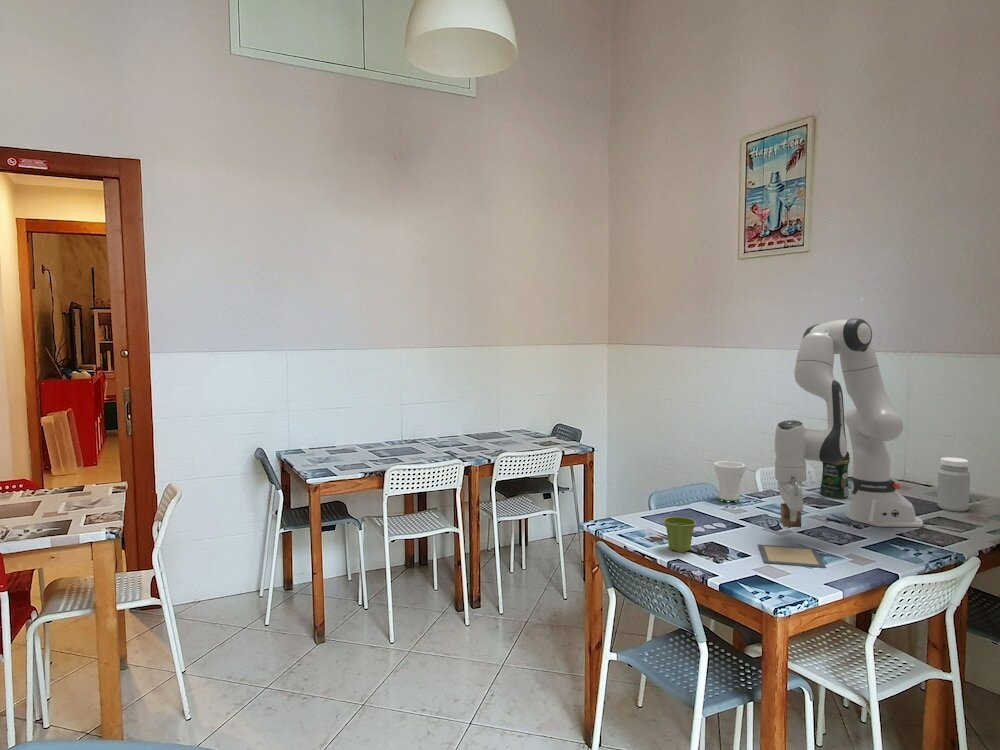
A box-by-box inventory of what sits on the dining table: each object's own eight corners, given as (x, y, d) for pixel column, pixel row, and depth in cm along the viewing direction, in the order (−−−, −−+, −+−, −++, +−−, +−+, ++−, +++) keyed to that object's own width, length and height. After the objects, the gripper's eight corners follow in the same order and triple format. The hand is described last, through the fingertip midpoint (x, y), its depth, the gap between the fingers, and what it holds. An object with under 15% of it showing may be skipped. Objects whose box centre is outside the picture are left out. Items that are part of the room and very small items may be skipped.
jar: (973, 513, 235) (974, 462, 234) (940, 511, 239) (942, 461, 237) (964, 506, 244) (966, 457, 243) (933, 504, 248) (934, 456, 246)
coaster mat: (814, 549, 199) (814, 548, 199) (825, 567, 184) (825, 566, 184) (757, 545, 204) (757, 544, 204) (763, 563, 188) (763, 562, 188)
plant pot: (660, 544, 206) (660, 516, 205) (691, 544, 206) (691, 516, 205) (667, 554, 197) (667, 525, 196) (699, 554, 196) (699, 525, 196)
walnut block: (798, 522, 209) (797, 503, 209) (801, 527, 204) (801, 508, 204) (781, 522, 210) (780, 503, 210) (783, 526, 205) (783, 507, 205)
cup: (749, 504, 251) (750, 466, 250) (720, 505, 250) (721, 467, 249) (736, 496, 262) (737, 460, 261) (709, 497, 261) (709, 461, 260)
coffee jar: (816, 495, 263) (817, 448, 262) (829, 492, 267) (830, 446, 266) (840, 500, 255) (841, 452, 253) (852, 497, 259) (853, 449, 257)
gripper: (808, 481, 195) (808, 528, 196) (795, 467, 215) (795, 509, 216) (785, 481, 197) (785, 527, 198) (774, 466, 217) (774, 508, 217)
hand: (790, 517), depth 207 cm, fingers closed on walnut block, 5 cm apart
